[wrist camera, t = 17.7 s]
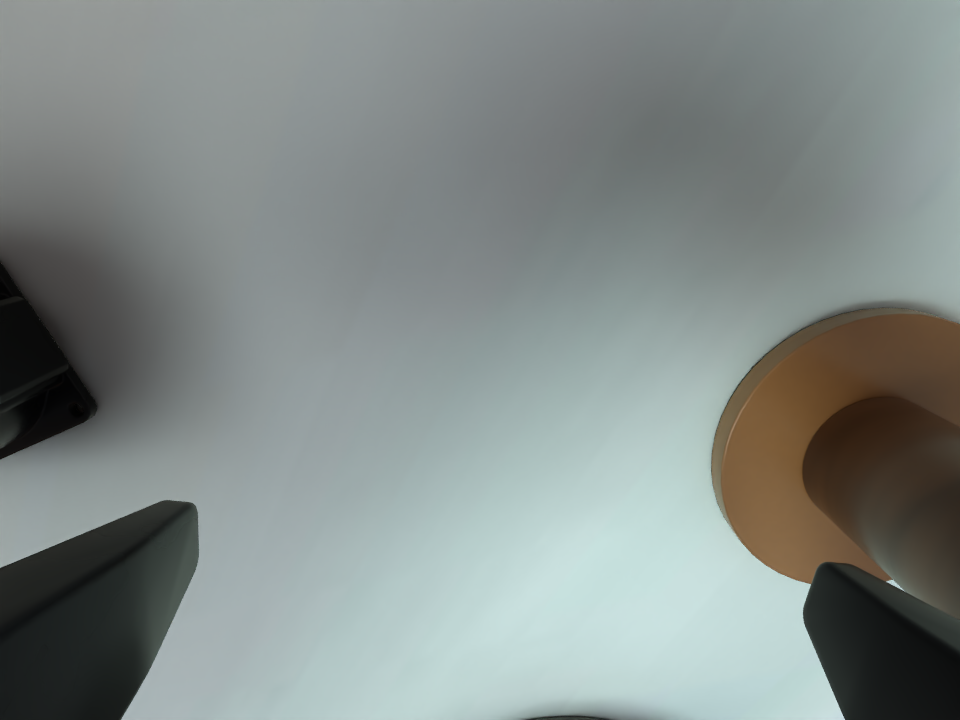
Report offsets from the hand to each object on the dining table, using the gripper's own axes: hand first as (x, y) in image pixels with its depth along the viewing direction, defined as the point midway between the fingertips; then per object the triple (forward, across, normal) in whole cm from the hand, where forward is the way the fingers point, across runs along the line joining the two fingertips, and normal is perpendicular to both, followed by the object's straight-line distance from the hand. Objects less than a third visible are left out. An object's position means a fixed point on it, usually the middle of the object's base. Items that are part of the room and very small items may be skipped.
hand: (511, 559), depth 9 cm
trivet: (+13, -14, +3) cm, 20 cm away
